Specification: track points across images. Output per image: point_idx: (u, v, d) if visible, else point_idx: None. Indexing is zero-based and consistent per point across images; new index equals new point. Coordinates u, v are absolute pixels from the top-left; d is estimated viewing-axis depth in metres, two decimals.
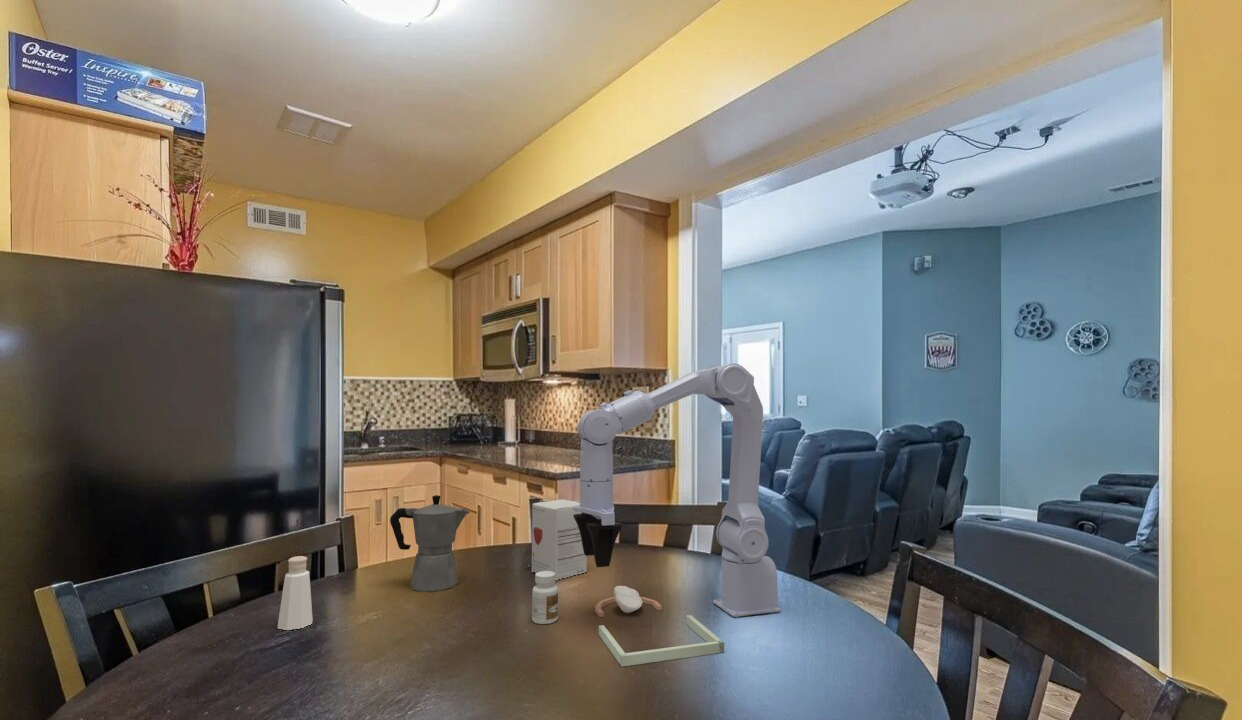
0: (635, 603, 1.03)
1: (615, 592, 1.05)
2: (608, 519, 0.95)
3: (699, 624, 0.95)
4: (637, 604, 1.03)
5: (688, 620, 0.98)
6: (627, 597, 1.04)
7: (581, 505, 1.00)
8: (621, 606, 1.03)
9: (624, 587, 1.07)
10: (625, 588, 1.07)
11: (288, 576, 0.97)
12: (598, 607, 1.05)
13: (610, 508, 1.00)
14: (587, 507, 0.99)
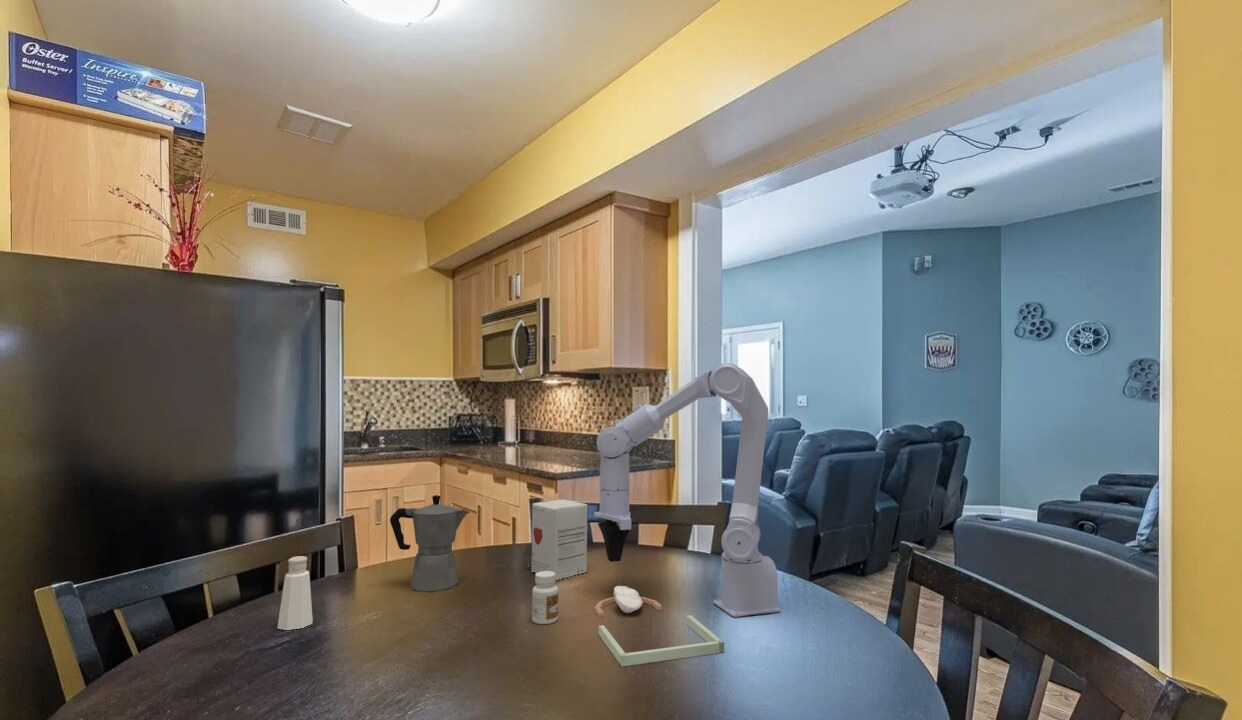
0: (635, 603, 1.03)
1: (615, 592, 1.05)
2: (626, 524, 1.08)
3: (699, 624, 0.95)
4: (637, 604, 1.03)
5: (688, 620, 0.98)
6: (627, 597, 1.04)
7: (601, 511, 1.13)
8: (621, 606, 1.03)
9: (624, 587, 1.07)
10: (625, 588, 1.07)
11: (288, 576, 0.97)
12: (598, 607, 1.05)
13: (627, 514, 1.13)
14: (607, 513, 1.12)
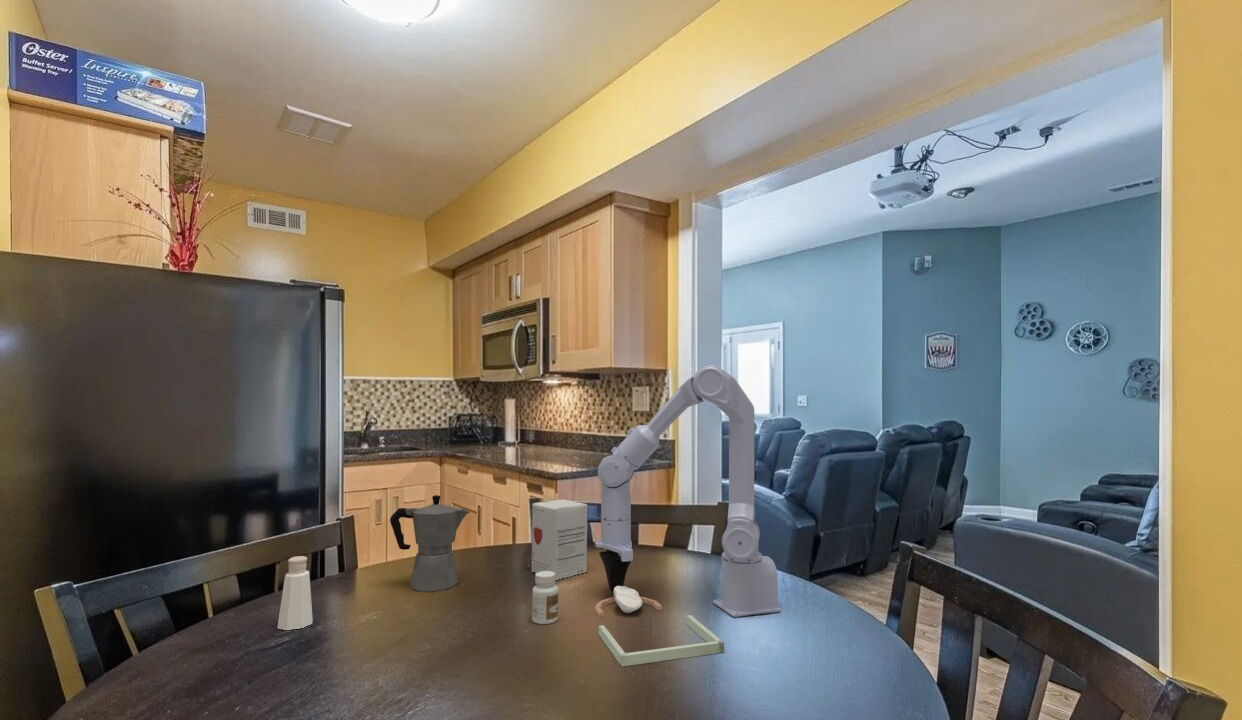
0: (635, 603, 1.03)
1: (615, 592, 1.05)
2: (627, 556, 1.07)
3: (699, 624, 0.95)
4: (637, 604, 1.03)
5: (688, 620, 0.98)
6: (627, 597, 1.04)
7: (602, 541, 1.12)
8: (621, 606, 1.03)
9: (624, 587, 1.07)
10: (625, 588, 1.07)
11: (288, 576, 0.97)
12: (598, 607, 1.05)
13: (628, 544, 1.12)
14: (608, 544, 1.11)
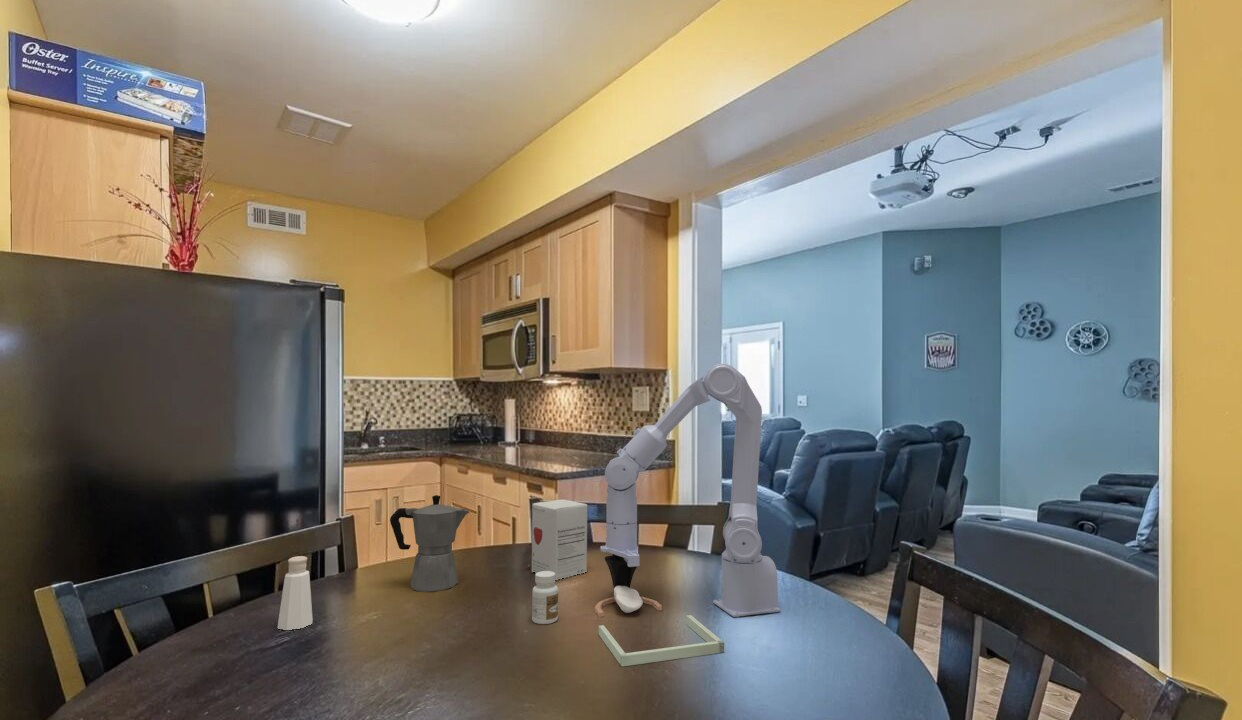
0: (635, 603, 1.03)
1: (615, 592, 1.05)
2: (634, 561, 1.03)
3: (699, 624, 0.95)
4: (637, 604, 1.03)
5: (688, 620, 0.98)
6: (627, 597, 1.04)
7: (608, 545, 1.09)
8: (621, 606, 1.03)
9: (624, 587, 1.07)
10: (625, 588, 1.06)
11: (288, 576, 0.97)
12: (598, 607, 1.05)
13: (634, 549, 1.08)
14: (614, 548, 1.08)
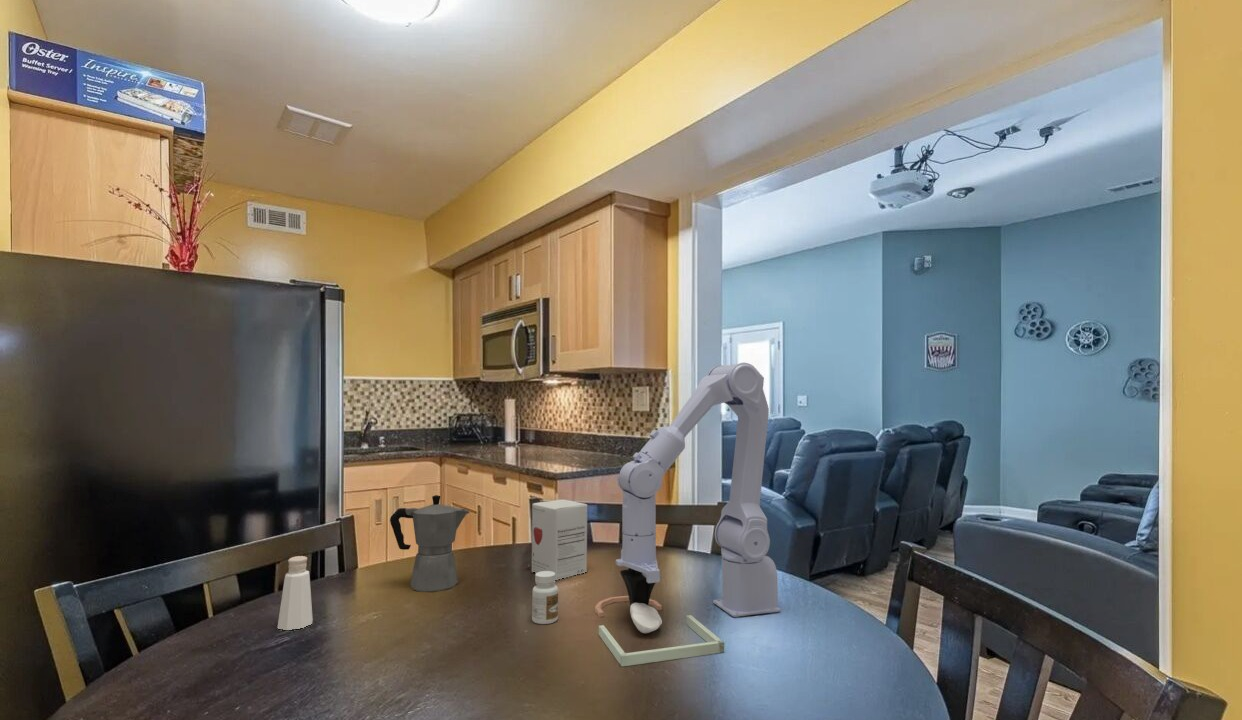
0: (653, 623, 0.94)
1: (631, 610, 0.96)
2: (654, 577, 0.94)
3: (699, 624, 0.95)
4: (655, 624, 0.94)
5: (688, 620, 0.98)
6: (644, 616, 0.95)
7: (624, 559, 1.00)
8: (637, 626, 0.94)
9: (642, 604, 0.98)
10: (643, 605, 0.97)
11: (288, 576, 0.97)
12: (598, 607, 1.05)
13: (653, 562, 0.99)
14: (631, 562, 0.98)
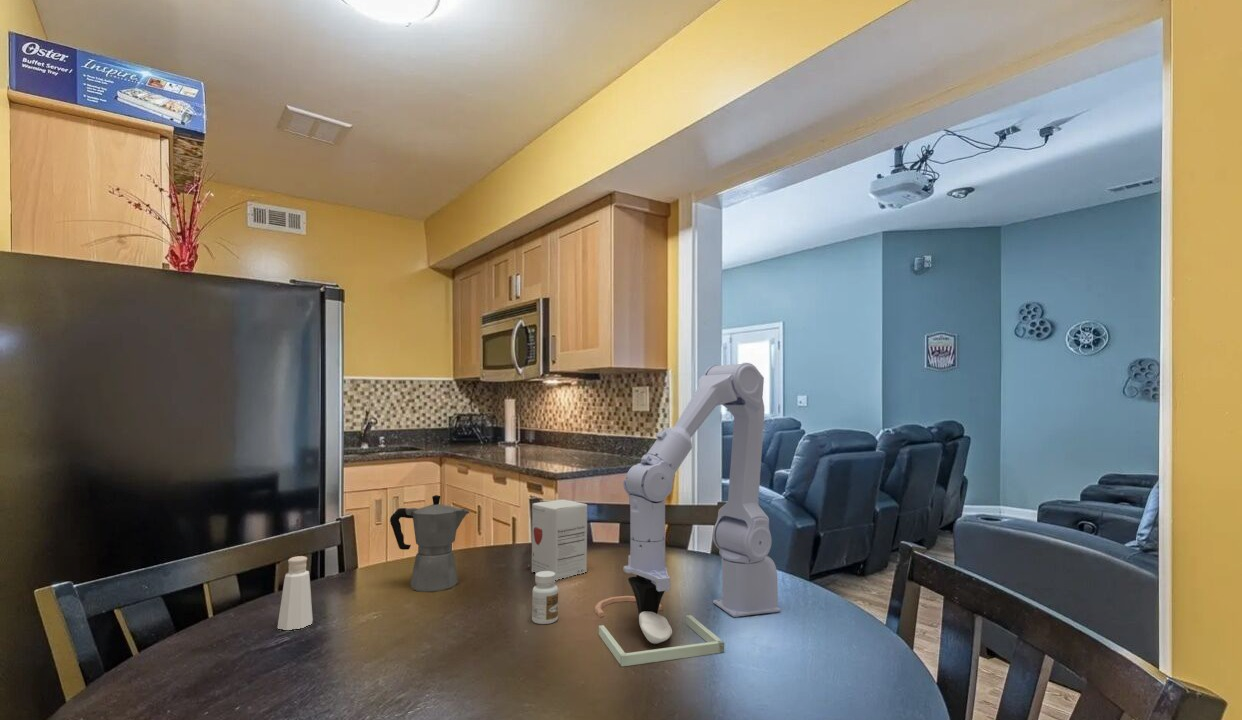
0: (663, 633, 0.90)
1: (640, 619, 0.92)
2: (664, 584, 0.90)
3: (699, 624, 0.95)
4: (665, 634, 0.90)
5: (688, 620, 0.98)
6: (654, 626, 0.90)
7: (632, 566, 0.95)
8: (647, 636, 0.90)
9: (651, 613, 0.93)
10: (652, 614, 0.93)
11: (288, 576, 0.97)
12: (598, 607, 1.05)
13: (663, 569, 0.95)
14: (640, 569, 0.94)
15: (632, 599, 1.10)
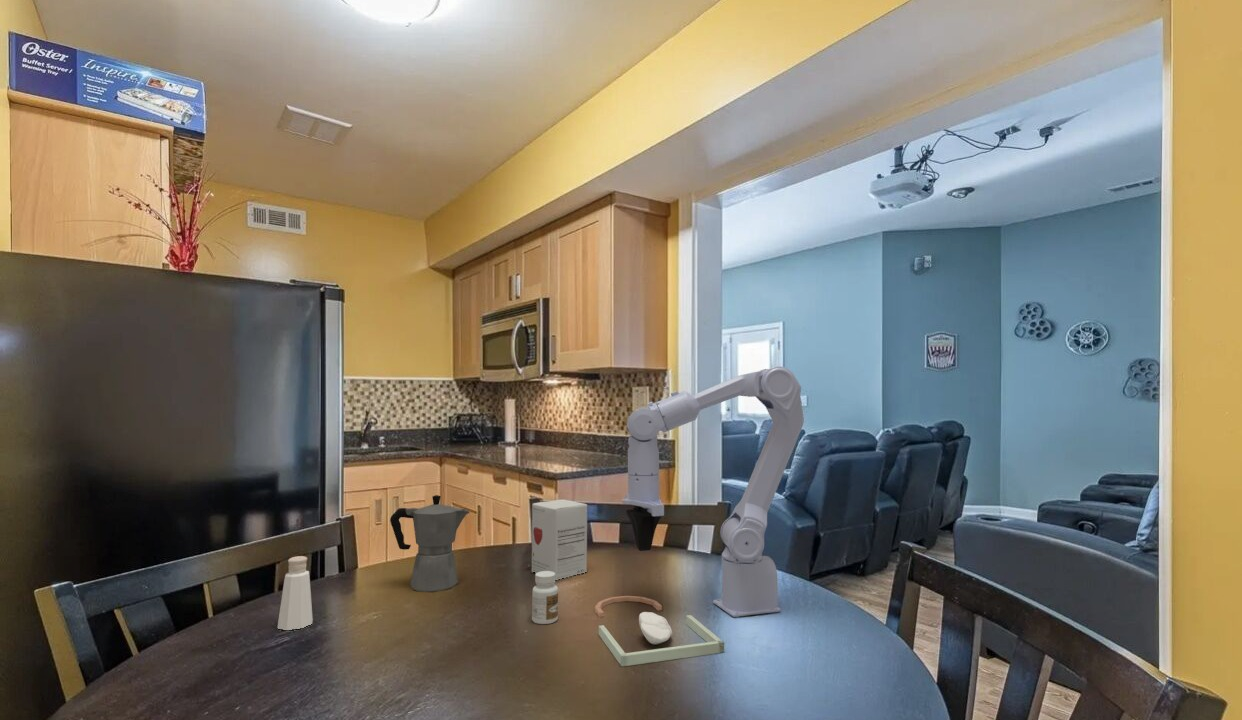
0: (663, 634, 0.90)
1: (640, 620, 0.92)
2: (658, 510, 1.01)
3: (699, 624, 0.95)
4: (665, 635, 0.90)
5: (688, 620, 0.98)
6: (654, 626, 0.90)
7: (630, 498, 1.07)
8: (647, 637, 0.90)
9: (651, 614, 0.93)
10: (652, 615, 0.93)
11: (288, 576, 0.97)
12: (598, 607, 1.05)
13: (657, 500, 1.06)
14: (636, 500, 1.06)
15: (632, 599, 1.10)
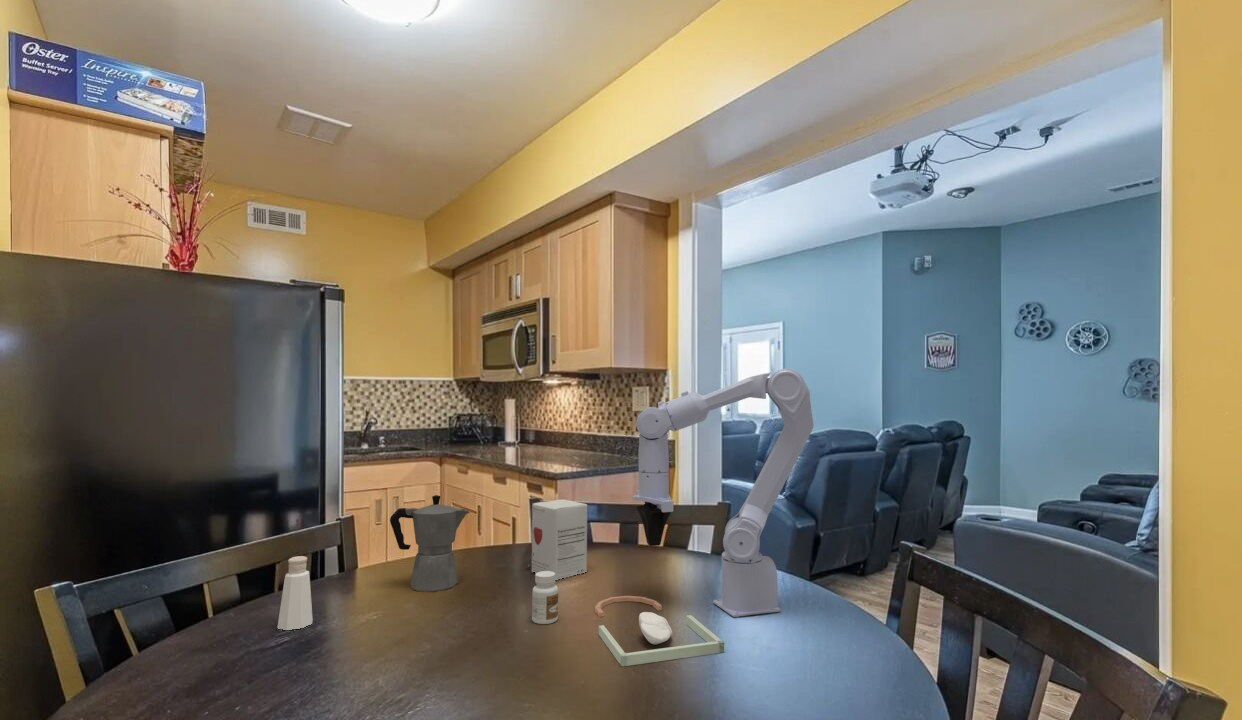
0: (663, 634, 0.90)
1: (640, 620, 0.92)
2: (668, 506, 1.05)
3: (699, 624, 0.95)
4: (665, 635, 0.90)
5: (688, 620, 0.98)
6: (654, 626, 0.90)
7: (640, 494, 1.10)
8: (647, 637, 0.90)
9: (651, 614, 0.93)
10: (652, 615, 0.93)
11: (288, 576, 0.97)
12: (598, 607, 1.05)
13: (667, 497, 1.10)
14: (647, 496, 1.09)
15: (632, 599, 1.10)
